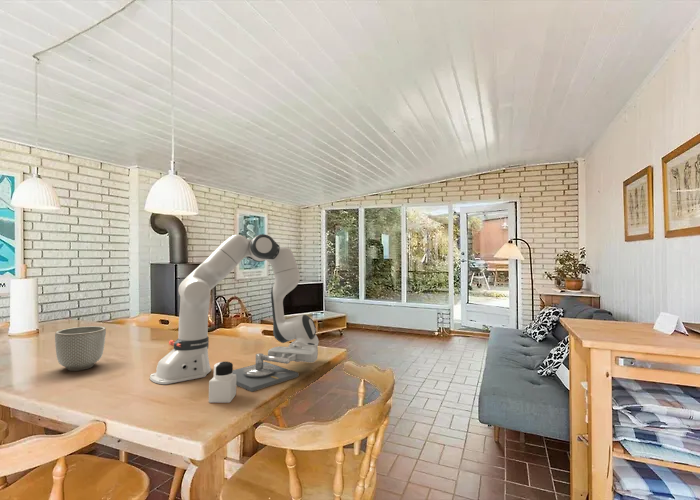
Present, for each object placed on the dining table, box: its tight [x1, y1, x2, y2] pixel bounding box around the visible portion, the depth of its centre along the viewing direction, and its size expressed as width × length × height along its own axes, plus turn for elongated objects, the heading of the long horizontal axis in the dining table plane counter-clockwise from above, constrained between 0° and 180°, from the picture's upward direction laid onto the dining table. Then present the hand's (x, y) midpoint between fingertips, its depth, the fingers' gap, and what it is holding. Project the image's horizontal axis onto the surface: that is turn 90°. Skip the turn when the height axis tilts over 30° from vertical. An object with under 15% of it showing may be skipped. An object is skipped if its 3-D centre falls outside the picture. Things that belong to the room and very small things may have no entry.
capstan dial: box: [244, 353, 291, 378], centre depth 142 cm, size 20×12×7 cm, turn 67°
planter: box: [54, 325, 107, 372], centre depth 152 cm, size 17×17×16 cm
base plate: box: [233, 361, 299, 393], centre depth 143 cm, size 22×22×2 cm
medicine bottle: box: [208, 361, 237, 404], centre depth 122 cm, size 7×7×12 cm
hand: (284, 359), depth 140 cm, fingers closed, pressing on capstan dial
